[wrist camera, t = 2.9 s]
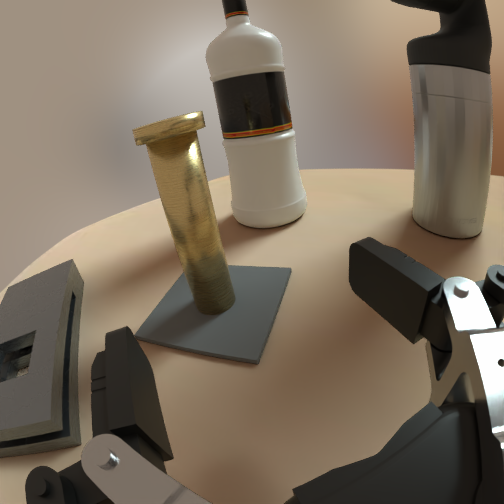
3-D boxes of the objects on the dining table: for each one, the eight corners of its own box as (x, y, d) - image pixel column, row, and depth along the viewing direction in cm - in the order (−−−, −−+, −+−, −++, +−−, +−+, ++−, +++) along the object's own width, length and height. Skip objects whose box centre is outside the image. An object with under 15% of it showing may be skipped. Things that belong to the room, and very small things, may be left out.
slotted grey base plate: (20, 308, 27) (8, 287, 25) (84, 282, 30) (72, 258, 28) (-10, 458, 10) (-39, 435, 8) (81, 444, 13) (50, 419, 11)
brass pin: (203, 282, 25) (159, 120, 18) (250, 286, 24) (214, 108, 17) (179, 316, 22) (117, 134, 15) (231, 324, 20) (178, 117, 13)
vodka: (237, 238, 33) (185, -28, 17) (231, 208, 41) (190, -1, 25) (318, 221, 33) (278, -37, 18) (296, 195, 41) (263, -10, 26)
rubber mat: (191, 266, 29) (190, 263, 29) (291, 271, 25) (291, 267, 25) (136, 338, 21) (134, 335, 21) (258, 363, 17) (257, 360, 17)
